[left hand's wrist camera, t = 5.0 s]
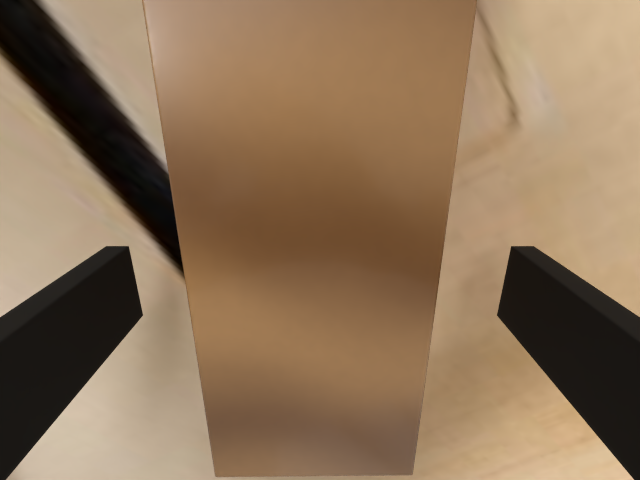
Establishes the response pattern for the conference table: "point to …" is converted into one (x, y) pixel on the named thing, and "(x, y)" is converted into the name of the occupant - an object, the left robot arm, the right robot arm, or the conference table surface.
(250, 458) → the beam
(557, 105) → the conference table surface
